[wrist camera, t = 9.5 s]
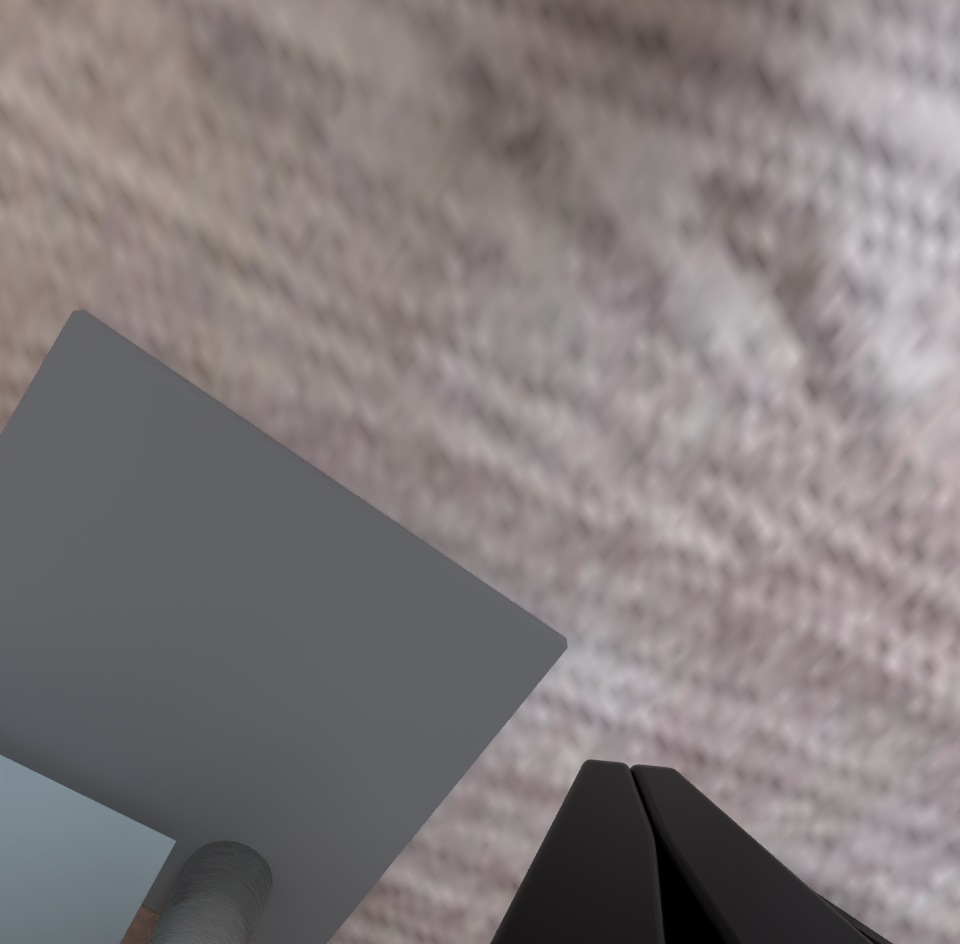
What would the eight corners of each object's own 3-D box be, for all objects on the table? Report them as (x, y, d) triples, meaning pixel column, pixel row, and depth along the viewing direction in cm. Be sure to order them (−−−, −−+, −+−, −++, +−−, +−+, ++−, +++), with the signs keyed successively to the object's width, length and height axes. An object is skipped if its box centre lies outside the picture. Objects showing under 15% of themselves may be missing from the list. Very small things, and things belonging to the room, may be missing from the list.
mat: (566, 638, 21) (567, 647, 21) (291, 975, 24) (287, 991, 23) (83, 309, 19) (72, 311, 19) (-152, 711, 22) (-167, 721, 22)
